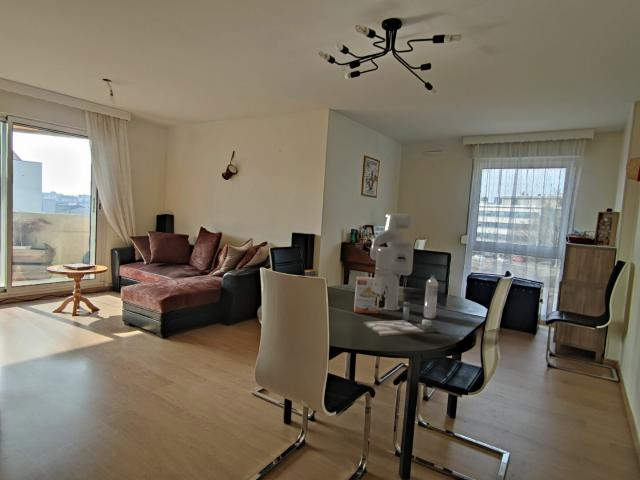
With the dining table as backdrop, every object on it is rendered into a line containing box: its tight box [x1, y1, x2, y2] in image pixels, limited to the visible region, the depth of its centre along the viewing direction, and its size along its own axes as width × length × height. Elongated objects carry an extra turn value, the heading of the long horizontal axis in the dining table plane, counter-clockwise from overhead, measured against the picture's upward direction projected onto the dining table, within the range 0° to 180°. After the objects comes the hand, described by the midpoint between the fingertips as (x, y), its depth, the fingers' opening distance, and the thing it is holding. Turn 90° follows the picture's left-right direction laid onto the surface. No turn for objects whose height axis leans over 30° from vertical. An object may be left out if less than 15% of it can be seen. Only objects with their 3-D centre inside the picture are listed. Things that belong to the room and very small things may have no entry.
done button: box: [421, 318, 432, 327], centre depth 194 cm, size 5×5×4 cm
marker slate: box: [402, 301, 411, 322], centre depth 210 cm, size 3×3×10 cm
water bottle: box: [423, 274, 439, 320], centre depth 218 cm, size 7×7×25 cm
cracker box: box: [353, 276, 379, 315], centre depth 221 cm, size 14×6×21 cm, turn 92°
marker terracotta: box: [377, 293, 384, 311], centre depth 194 cm, size 3×3×10 cm
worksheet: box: [363, 319, 425, 337], centre depth 193 cm, size 19×25×1 cm
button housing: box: [416, 322, 437, 334], centre depth 194 cm, size 7×7×2 cm
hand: (379, 306), depth 195 cm, fingers closed on marker terracotta, 3 cm apart
